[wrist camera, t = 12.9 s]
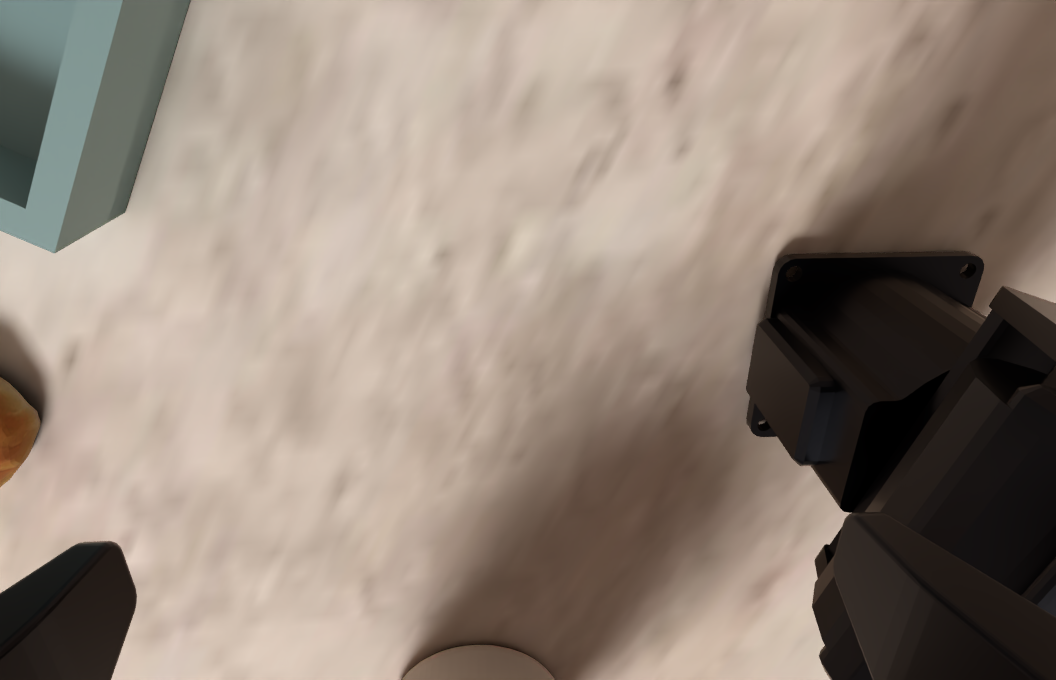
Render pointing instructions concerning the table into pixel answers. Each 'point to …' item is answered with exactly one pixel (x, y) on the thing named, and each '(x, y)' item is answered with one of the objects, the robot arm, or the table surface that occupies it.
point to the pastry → (15, 430)
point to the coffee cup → (479, 665)
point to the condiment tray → (77, 109)
